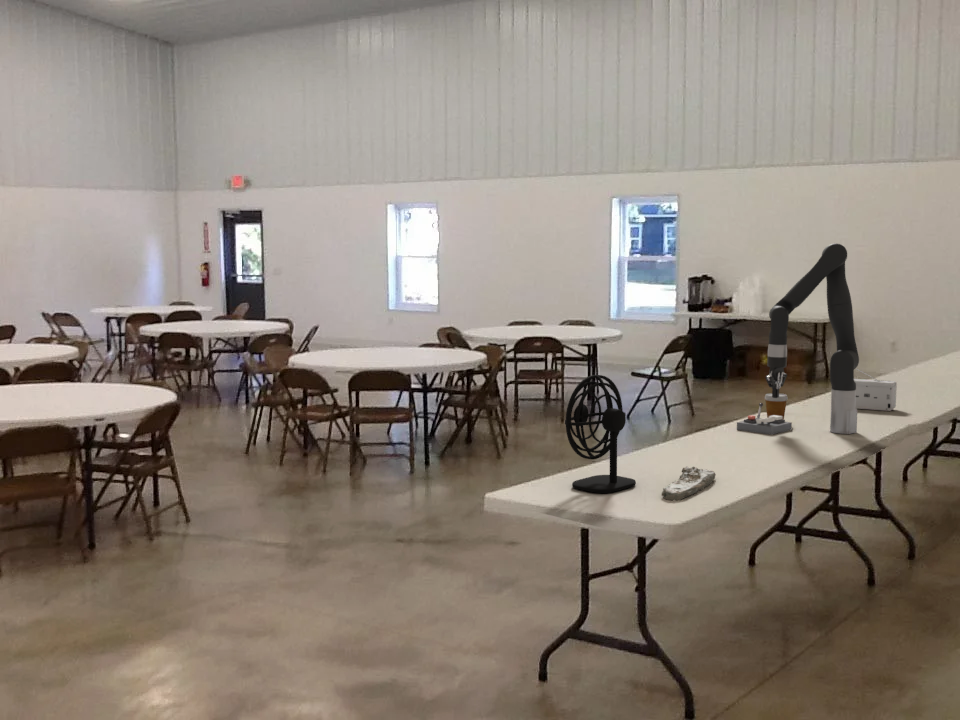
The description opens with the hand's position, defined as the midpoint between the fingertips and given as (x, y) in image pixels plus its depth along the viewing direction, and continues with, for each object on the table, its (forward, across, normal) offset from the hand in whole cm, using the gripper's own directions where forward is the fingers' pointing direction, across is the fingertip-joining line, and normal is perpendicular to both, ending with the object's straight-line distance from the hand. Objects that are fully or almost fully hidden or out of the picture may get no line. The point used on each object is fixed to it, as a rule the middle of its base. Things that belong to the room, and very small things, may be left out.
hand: (775, 397), depth 414 cm
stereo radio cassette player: (+13, +75, -3) cm, 77 cm away
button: (+9, -7, +6) cm, 13 cm away
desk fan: (+13, -124, -15) cm, 126 cm away
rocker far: (+9, -8, 0) cm, 12 cm away
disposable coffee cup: (+13, +13, +8) cm, 20 cm away
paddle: (+9, 0, 0) cm, 9 cm away
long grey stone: (+13, -107, -36) cm, 114 cm away
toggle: (+10, +1, +8) cm, 13 cm away
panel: (+13, -4, +2) cm, 14 cm away
